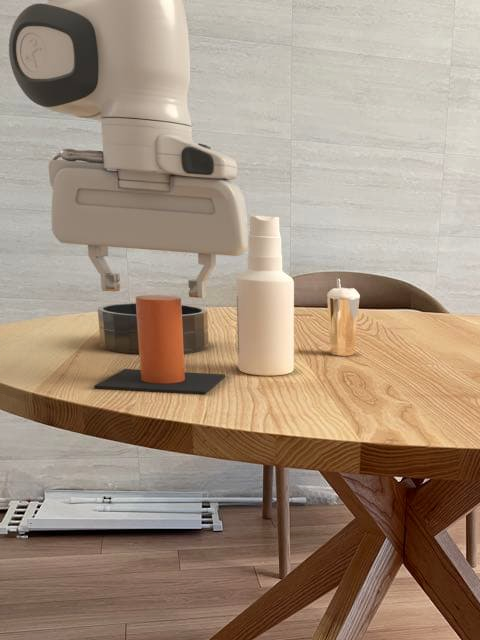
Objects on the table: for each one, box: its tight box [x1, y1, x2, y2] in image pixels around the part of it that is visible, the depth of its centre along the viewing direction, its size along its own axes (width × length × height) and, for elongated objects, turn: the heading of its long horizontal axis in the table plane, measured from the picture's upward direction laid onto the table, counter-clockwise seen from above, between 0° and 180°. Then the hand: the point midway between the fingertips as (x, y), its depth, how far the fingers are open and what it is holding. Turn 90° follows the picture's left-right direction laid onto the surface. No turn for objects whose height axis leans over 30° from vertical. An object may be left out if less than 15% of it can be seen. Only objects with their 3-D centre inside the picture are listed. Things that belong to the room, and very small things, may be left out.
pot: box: [97, 302, 209, 355], centre depth 115 cm, size 14×14×5 cm
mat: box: [94, 368, 226, 395], centre depth 94 cm, size 12×10×1 cm
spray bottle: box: [235, 215, 295, 377], centre depth 100 cm, size 7×7×18 cm
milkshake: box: [326, 278, 361, 357], centre depth 116 cm, size 4×5×10 cm
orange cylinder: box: [135, 294, 186, 384], centre depth 92 cm, size 5×5×9 cm
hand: (154, 294), depth 90 cm, fingers open, 8 cm apart
